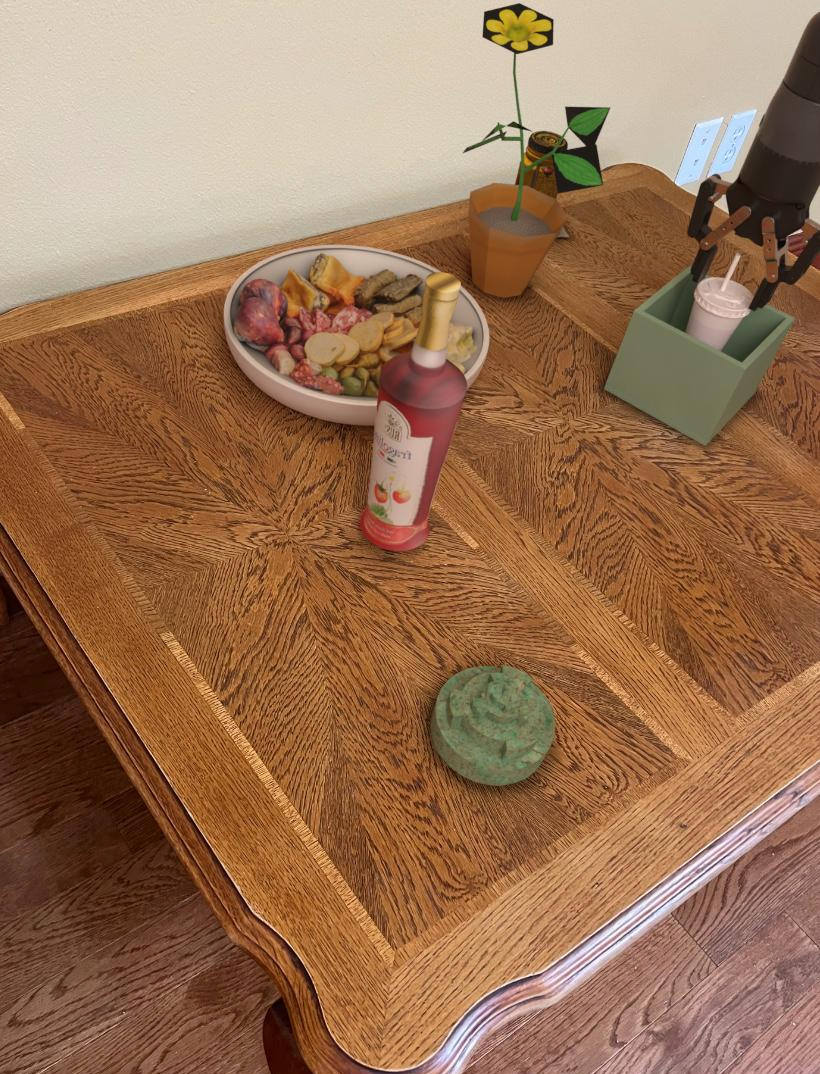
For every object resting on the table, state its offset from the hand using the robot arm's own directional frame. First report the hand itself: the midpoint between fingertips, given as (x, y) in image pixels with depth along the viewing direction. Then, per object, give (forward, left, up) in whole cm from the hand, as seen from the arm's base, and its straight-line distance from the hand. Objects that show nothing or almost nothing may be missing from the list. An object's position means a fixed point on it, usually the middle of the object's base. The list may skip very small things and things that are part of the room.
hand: (725, 292), depth 102 cm
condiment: (-18, -33, -14) cm, 40 cm away
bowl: (+24, -31, -14) cm, 42 cm away
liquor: (+43, -10, -14) cm, 46 cm away
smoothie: (0, 0, -10) cm, 10 cm away
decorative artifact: (+55, +10, -14) cm, 58 cm away
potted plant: (-2, -28, -14) cm, 31 cm away
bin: (0, 0, -13) cm, 13 cm away
